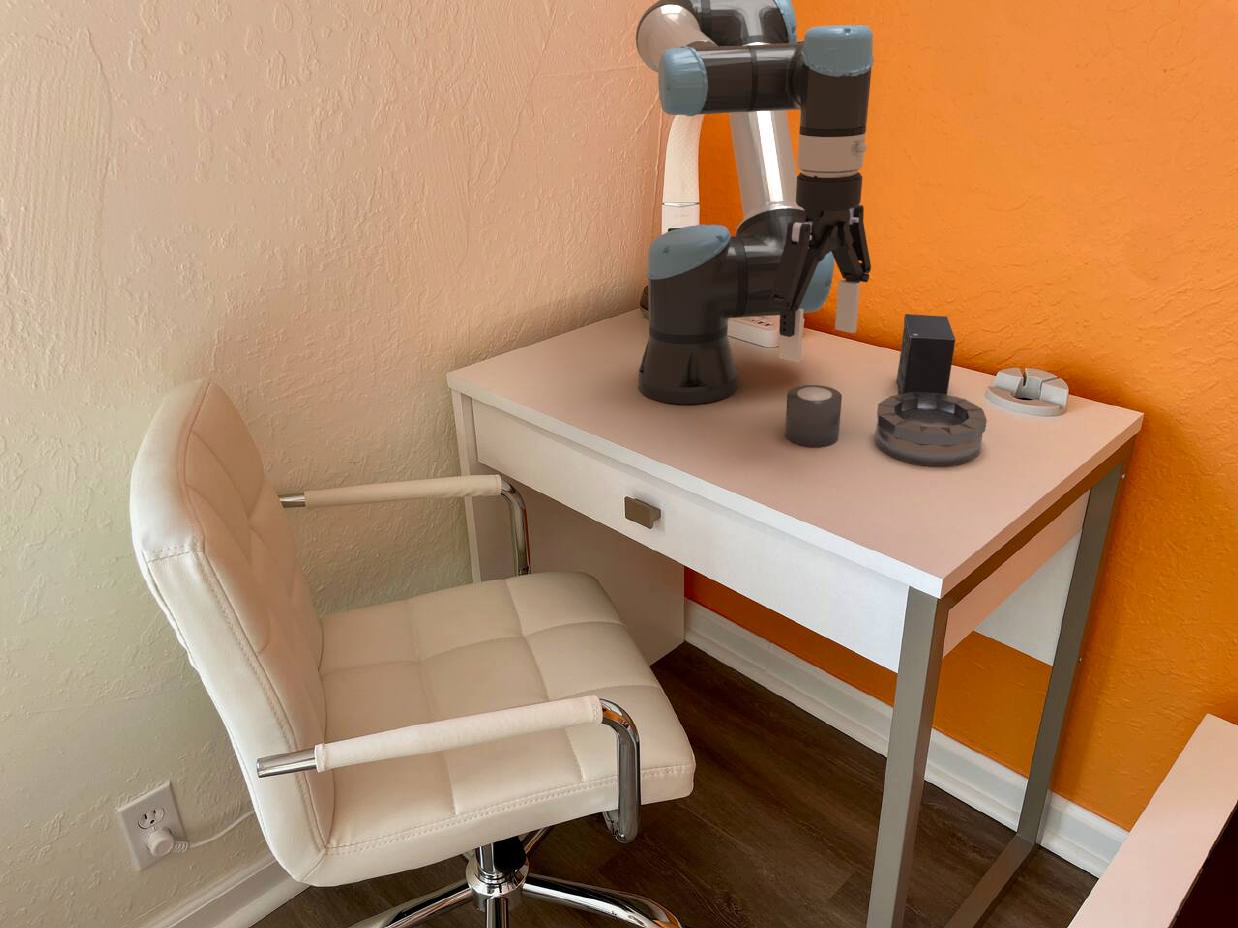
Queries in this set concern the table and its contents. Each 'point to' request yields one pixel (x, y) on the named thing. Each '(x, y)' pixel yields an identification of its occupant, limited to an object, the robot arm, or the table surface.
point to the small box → (925, 354)
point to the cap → (813, 416)
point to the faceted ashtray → (930, 429)
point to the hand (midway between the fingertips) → (818, 344)
